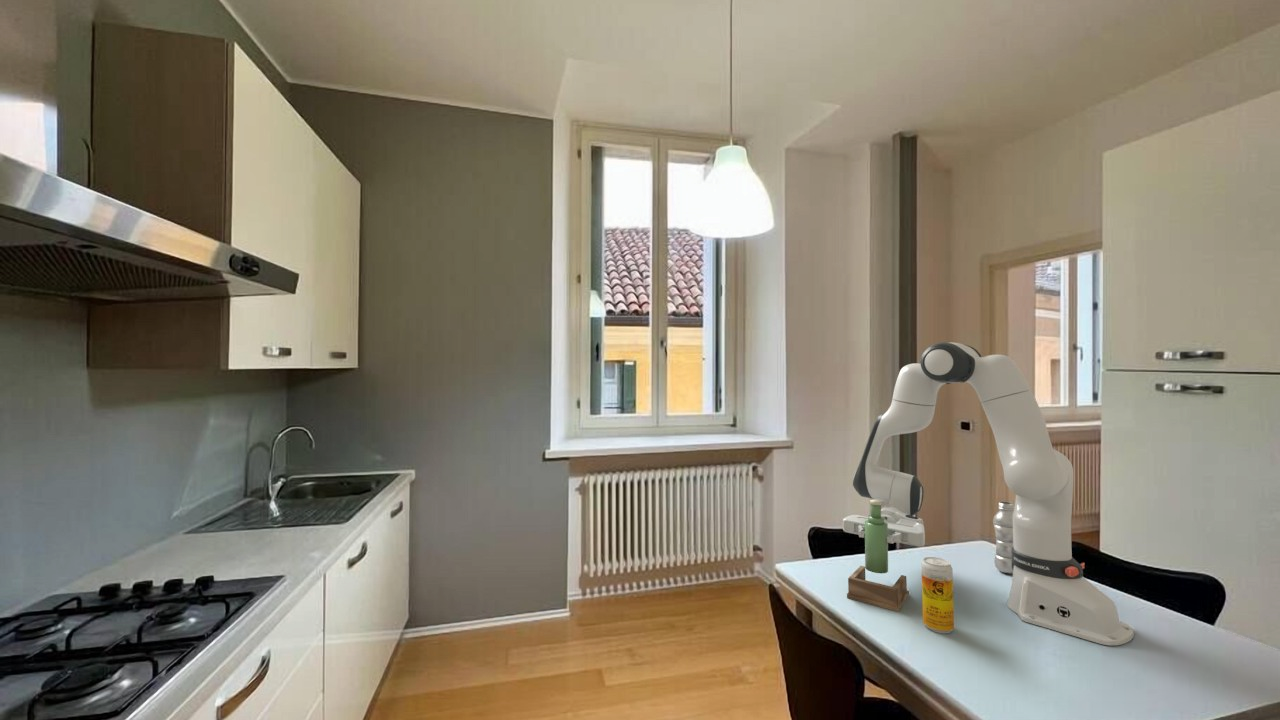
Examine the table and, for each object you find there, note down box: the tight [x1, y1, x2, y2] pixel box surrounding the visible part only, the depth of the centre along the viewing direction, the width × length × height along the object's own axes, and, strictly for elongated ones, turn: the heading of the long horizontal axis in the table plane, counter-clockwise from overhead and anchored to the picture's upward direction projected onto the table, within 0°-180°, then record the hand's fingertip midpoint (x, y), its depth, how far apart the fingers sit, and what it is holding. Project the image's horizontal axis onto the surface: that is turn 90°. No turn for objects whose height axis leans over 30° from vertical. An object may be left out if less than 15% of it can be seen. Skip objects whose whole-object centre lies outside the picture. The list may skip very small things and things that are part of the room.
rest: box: [846, 565, 910, 612], centre depth 130 cm, size 12×12×5 cm
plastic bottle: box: [992, 501, 1015, 575], centre depth 144 cm, size 6×7×20 cm
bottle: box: [864, 498, 889, 574], centre depth 130 cm, size 5×5×18 cm
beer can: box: [921, 556, 955, 634], centre depth 114 cm, size 6×6×15 cm
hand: (875, 537), depth 129 cm, fingers closed on bottle, 5 cm apart
